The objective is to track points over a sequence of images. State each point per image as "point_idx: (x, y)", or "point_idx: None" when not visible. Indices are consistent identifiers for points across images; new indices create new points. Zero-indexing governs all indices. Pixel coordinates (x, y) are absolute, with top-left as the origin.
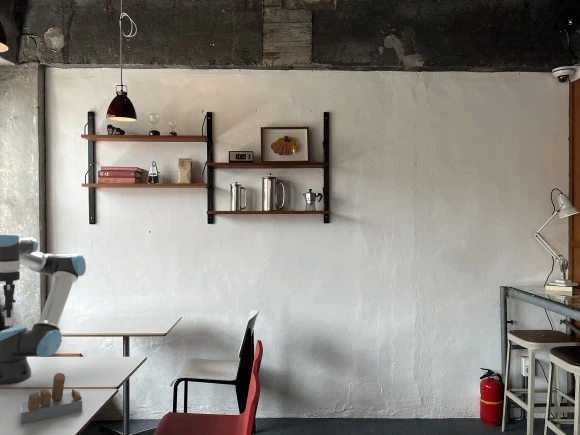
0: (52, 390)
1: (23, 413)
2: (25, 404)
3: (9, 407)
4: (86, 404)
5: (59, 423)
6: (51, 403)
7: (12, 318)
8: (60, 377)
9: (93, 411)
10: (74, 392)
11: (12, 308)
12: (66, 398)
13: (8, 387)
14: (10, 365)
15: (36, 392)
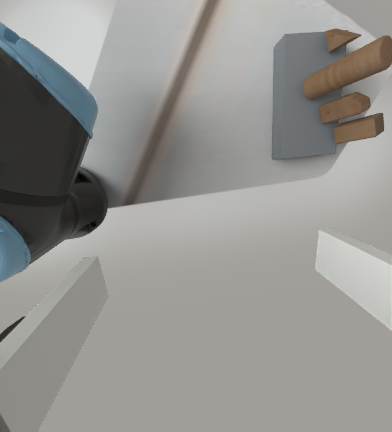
0: (336, 89)
1: (333, 150)
2: (298, 151)
3: (238, 183)
4: (303, 32)
5: (358, 90)
6: (323, 100)
7: (375, 249)
8: (390, 50)
9: (346, 18)
10: (357, 36)
11: (51, 325)
12: (315, 67)
13: (129, 200)
14: (81, 209)
15: (374, 120)
